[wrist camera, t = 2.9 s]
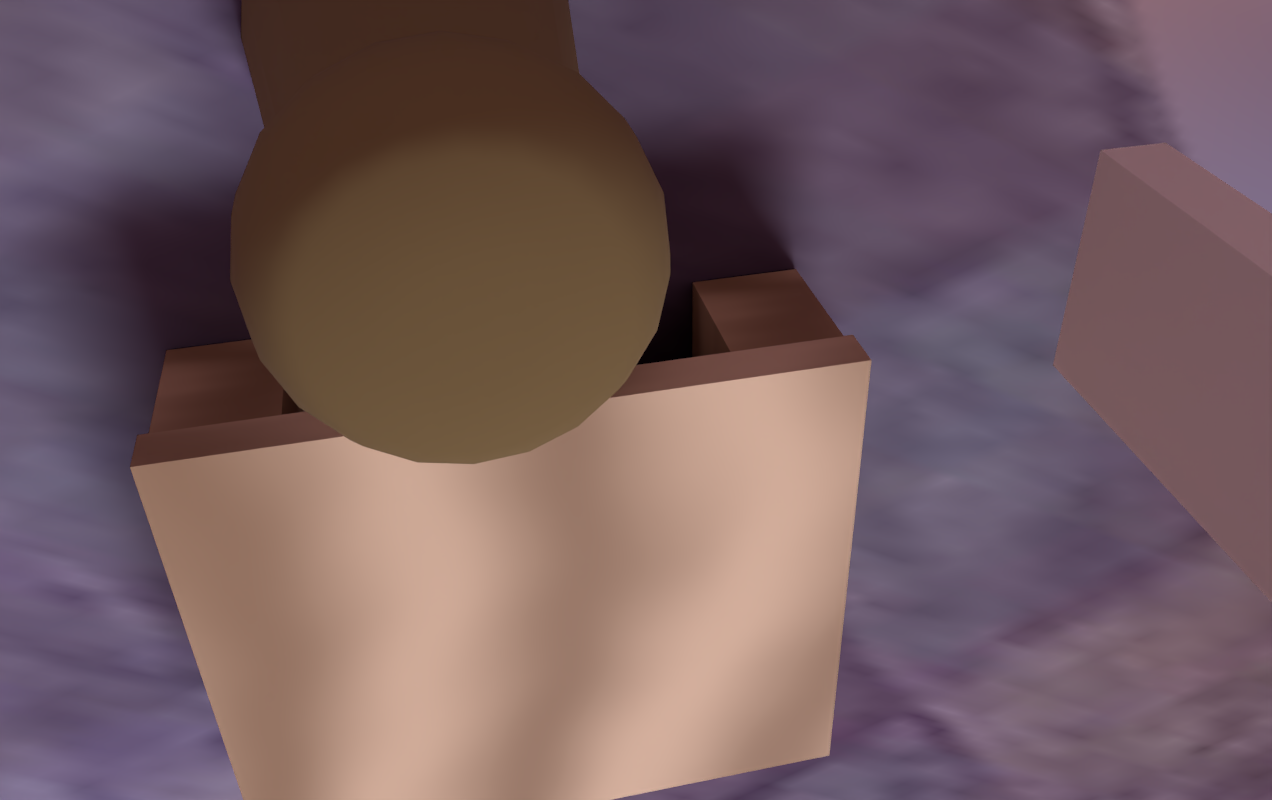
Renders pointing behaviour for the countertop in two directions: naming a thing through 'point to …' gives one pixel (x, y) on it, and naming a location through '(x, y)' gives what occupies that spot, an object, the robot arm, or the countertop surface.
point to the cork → (442, 224)
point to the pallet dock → (523, 573)
